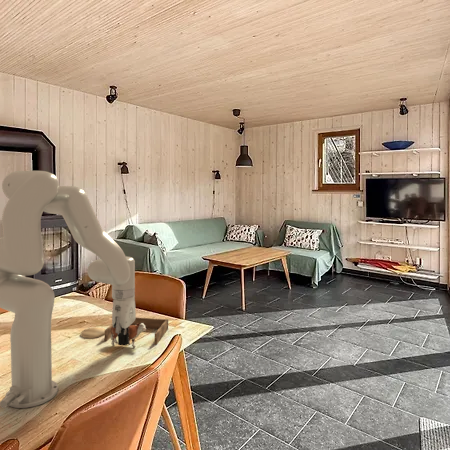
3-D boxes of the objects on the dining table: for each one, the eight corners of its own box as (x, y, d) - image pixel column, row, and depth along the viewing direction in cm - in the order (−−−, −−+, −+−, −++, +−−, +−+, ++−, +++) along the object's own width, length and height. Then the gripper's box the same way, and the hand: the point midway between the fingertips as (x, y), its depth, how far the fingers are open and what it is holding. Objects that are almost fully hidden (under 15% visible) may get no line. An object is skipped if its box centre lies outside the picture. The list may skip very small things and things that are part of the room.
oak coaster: (99, 339, 135) (99, 336, 135) (76, 337, 136) (76, 335, 136) (109, 330, 144) (109, 328, 144) (88, 328, 145) (88, 326, 145)
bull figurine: (141, 343, 125) (146, 321, 130) (104, 342, 127) (111, 320, 132) (145, 348, 128) (150, 326, 133) (109, 346, 131) (115, 325, 136)
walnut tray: (156, 344, 132) (156, 334, 131) (104, 340, 134) (104, 330, 133) (168, 329, 147) (168, 319, 147) (121, 325, 149) (121, 316, 149)
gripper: (125, 299, 116) (125, 354, 118) (141, 287, 131) (141, 336, 133) (103, 298, 117) (103, 353, 119) (121, 286, 132) (121, 335, 134)
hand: (123, 344), depth 126 cm, fingers closed
